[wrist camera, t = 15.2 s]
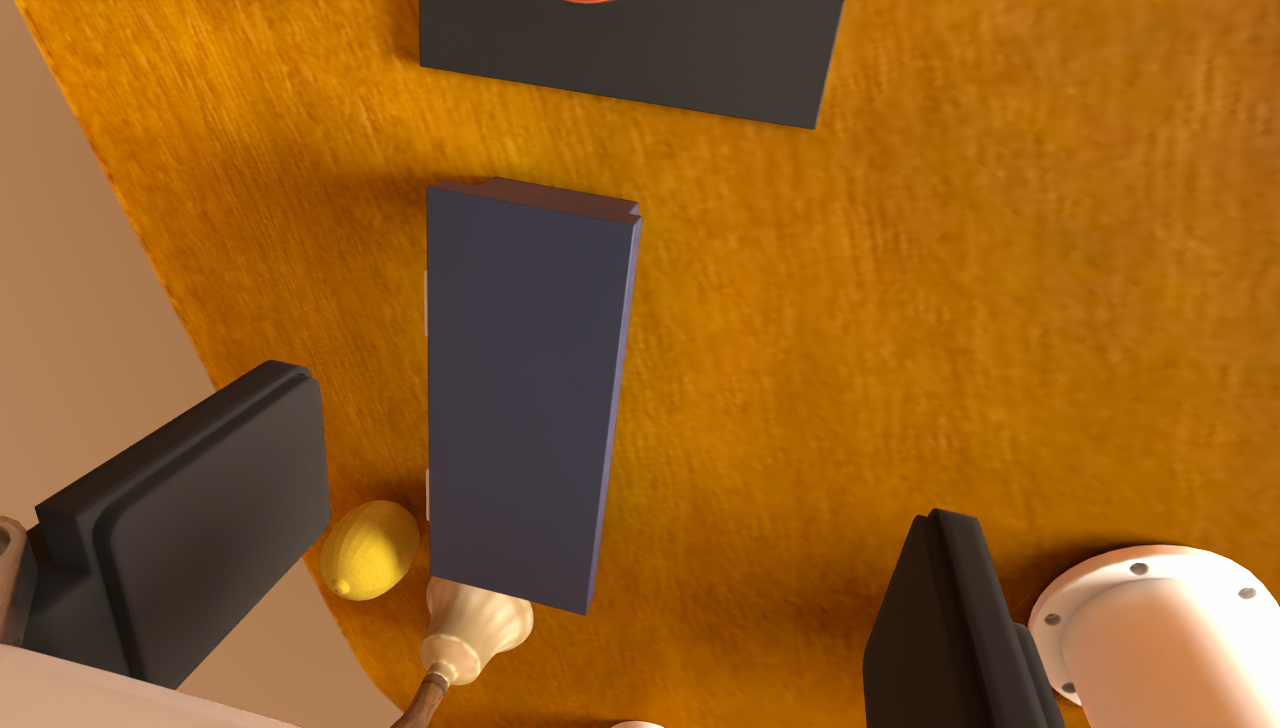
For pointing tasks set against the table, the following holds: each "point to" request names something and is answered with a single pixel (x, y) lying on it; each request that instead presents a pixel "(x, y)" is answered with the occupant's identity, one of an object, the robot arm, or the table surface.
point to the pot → (590, 1)
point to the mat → (647, 50)
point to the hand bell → (462, 640)
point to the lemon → (369, 550)
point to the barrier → (524, 382)
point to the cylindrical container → (636, 725)
